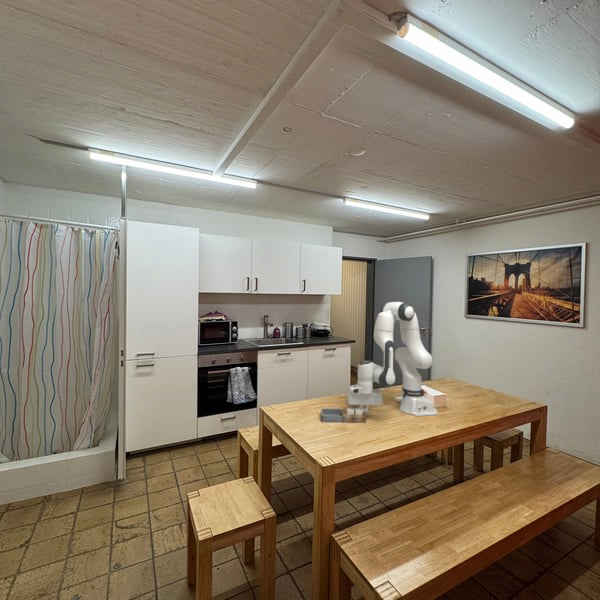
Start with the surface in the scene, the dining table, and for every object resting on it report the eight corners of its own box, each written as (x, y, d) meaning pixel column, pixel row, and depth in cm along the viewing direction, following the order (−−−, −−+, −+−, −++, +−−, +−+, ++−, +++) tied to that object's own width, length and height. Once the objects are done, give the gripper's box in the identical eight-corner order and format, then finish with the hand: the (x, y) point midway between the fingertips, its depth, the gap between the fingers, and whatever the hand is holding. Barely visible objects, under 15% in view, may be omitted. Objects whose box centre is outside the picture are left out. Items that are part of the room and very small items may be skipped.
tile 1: (352, 412, 184) (353, 407, 184) (354, 414, 180) (354, 410, 180) (346, 412, 184) (346, 407, 184) (347, 414, 180) (347, 410, 180)
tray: (339, 414, 188) (339, 408, 188) (342, 422, 177) (342, 416, 176) (321, 414, 188) (321, 408, 188) (322, 422, 177) (322, 415, 176)
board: (361, 414, 188) (361, 409, 188) (365, 423, 176) (365, 417, 176) (340, 414, 188) (340, 409, 188) (342, 422, 176) (343, 417, 176)
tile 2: (361, 412, 184) (361, 408, 184) (362, 414, 180) (362, 410, 180) (354, 412, 184) (354, 407, 184) (355, 414, 180) (355, 410, 180)
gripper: (381, 387, 185) (380, 410, 185) (346, 386, 185) (346, 409, 185) (384, 390, 178) (383, 414, 179) (348, 390, 178) (348, 413, 179)
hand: (364, 412), depth 182 cm, fingers closed
